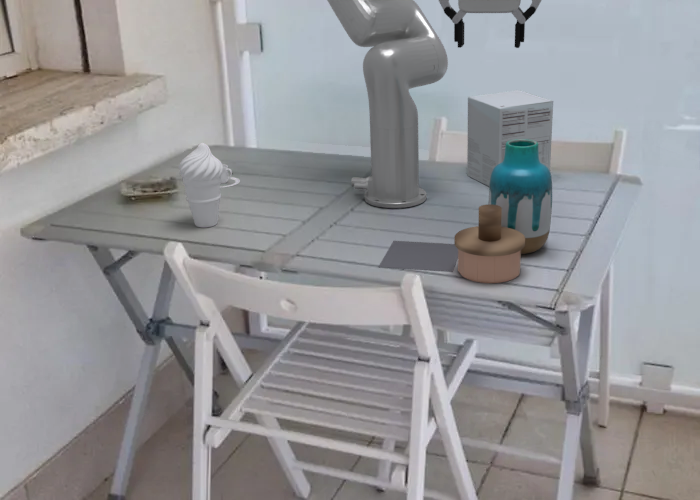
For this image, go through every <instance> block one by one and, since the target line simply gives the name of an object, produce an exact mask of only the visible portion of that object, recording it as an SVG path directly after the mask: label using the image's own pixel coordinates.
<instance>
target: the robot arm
mask: <svg viewBox="0 0 700 500" xmlns="http://www.w3.org/2000/svg"><path fill="white" fill-rule="evenodd" d="M326 1H327V2H328V5H329V6H330V8H331V9H332V11H333V12H334V15H335V16H336V17H337V19H338V21H339V23H340V24H341V27H343V29H344V31H345V32H346V34H347V35H348V37H349V39H350V40H351V41H352V42H353V44H355V45H356V46H358V47H361V48H370V49H369V50H368V51H367V52H366V54H365V55H364V57H363V62H362V72H363V77H364V83H365V87H366V91H367V99H368V107H369V109H368V111H369V132H370V133H369V136H370V141H369V142H370V163H371V164H370V167H371V168H370V173H371V175H370V176H367V177H357V176H355V177H353V176H352V177H351V182H350V185H351V187H353V188H354V190H365V191H366V192H364V195H363V196H364V201H365V202H366V203H367V204H369V205H371V206H374V207H378V208H385V209H403V208H411V207H414V206H418V205H420V204H422V203H424V202H425V201H426V200H427V191H426V190H425V189H423V188H421V187H420V186H419V185H420V180H419V179H420V178H419V172H420V171H419V170H420V169H419V165H420V163H419V159H420V158H419V157H420V156H419V154H420V153H419V114H418V109H417V105H416V103H415V101H414V100H413V98H412V96H411V94H410V91H409V90H410V89H414V88H419V87H423V86H427V85H431V84H435V83H437V82H439V81H440V80H441V79H443V77H444V76H445V74H446V73H447V70H448V65H449V61H448V60H449V59H448V55H447V52H446V49H445V46H444V44H443V42H442V41H441V39H440V37H439V36H438V34H437V33H436V31H435V29H434V28H433V26H432V24H431V23H430V21H429V19H428V18H427V16H426V15H425V14H424V12H423V11H422V9H421V8H420V6H419V4H417V2H415V0H326ZM449 1H450V0H438V2H439V4H440V7H441V8H442V9H443V12H444V14H445V15H446V16H447V17H448V18H449V19H450V21H451V22H452V23H453V29H454V32H453V35H454V36H453V39H454V43H457V48H458V49H459V48H463V47H464V45H465V22H464V20H463V18H464V17H465V16H466V14H509V13H510V14H512V15H513V17H514V18H515V19H516V23H515V24H514V48H516V49H519V48H520V47H521V43H525V32H526V31H525V30H526V28H525V27H526V22H527V21H528V20H529V19H530V18H531V17H532V16H533V15H534V14H535V13H536V11H537V10H538V8H539V5H540V4H541V2H542V0H531V4H530V6H529V7H528V8H527V9H526V10H525V11H523V10H522V8H521V7H520V6H521V0H457V2H458V3H457V4H458V5H457V6H458V9H459V10H458V11H456V10H455V9H454V8H453V7H452V6H451V4H450V2H449Z"/></svg>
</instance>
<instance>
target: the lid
mask: <svg viewBox="0 0 700 500" xmlns="http://www.w3.org/2000/svg"><path fill="white" fill-rule="evenodd" d="M501 218H502V207H500V206H498V205H492V204H482V205H480V206H479V207H478V225H477V226H476V225H475V226H471V227H467V228H464V229H461V230H459V231H458V232H457V233H456V234H455V235H454V238H453V239H454V242H453V244H455V246H456V247H457V248H458V249H459V250H461V251H463V252H465V253H469V254H473V255H479V256H504V255H509V254H513V253H516V252H519V251H520V250H522V249H523V248H524V246H525V236H524V235H523V234H522V233H521V232H519V231H517V230H514V229H511V228H507V227H501Z"/></svg>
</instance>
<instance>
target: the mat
mask: <svg viewBox="0 0 700 500" xmlns="http://www.w3.org/2000/svg"><path fill="white" fill-rule="evenodd" d="M457 263H458V248H457V247H456V246H455V243H444V242H441V243H440V242H425V241H422V242H421V241H409V240H393V241H392V243H391V244H390V246H389V247H388V250H387V251H386V253H385V254H384V257H383V258H382V259H381V262H380V263H379V265H378V268H385V269H388V268H389V269H398V270H401V269H402V270H416V271H431V272H445V273H447V272H449V273H453V272H454V269H455V267H456V264H457Z"/></svg>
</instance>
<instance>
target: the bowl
mask: <svg viewBox="0 0 700 500" xmlns="http://www.w3.org/2000/svg"><path fill="white" fill-rule="evenodd" d="M521 262H522V254H521V250H520V251H519V252H516V253H513V254H509V255H504V256H479V255H473V254H469V253H465V252H463V251H461V250H459V249H458V259H457V272H459V275H460V276H461V277H463V278H464V279H467V280H468V281H472V282H476V283H484V284H497V283H498V284H500V283H505V282H509V281H512V280H514V279H516V278H517V277H518V276H519V275H520V272H521V267H522V266H521V265H522V263H521Z"/></svg>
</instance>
